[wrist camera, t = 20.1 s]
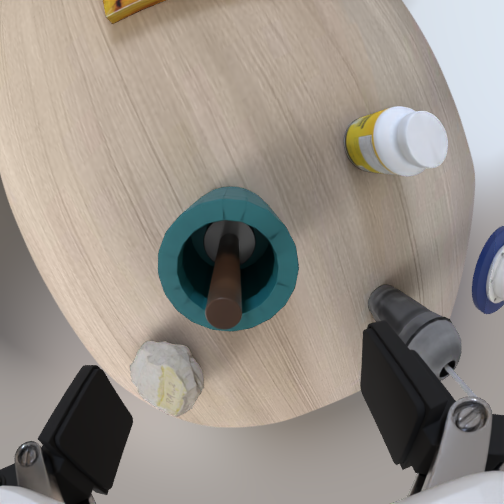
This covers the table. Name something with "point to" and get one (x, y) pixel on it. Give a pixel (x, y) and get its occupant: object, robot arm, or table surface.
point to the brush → (227, 270)
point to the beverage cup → (420, 331)
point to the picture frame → (125, 8)
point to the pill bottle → (396, 142)
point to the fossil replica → (167, 376)
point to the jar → (252, 271)
